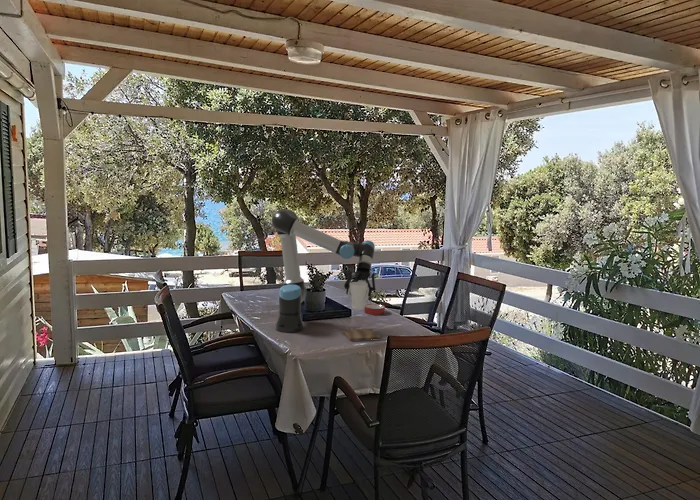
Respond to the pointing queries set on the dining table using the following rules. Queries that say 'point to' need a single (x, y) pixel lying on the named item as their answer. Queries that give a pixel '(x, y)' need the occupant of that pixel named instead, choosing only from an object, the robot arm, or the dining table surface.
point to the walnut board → (361, 334)
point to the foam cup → (358, 294)
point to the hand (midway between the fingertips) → (357, 300)
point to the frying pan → (374, 309)
